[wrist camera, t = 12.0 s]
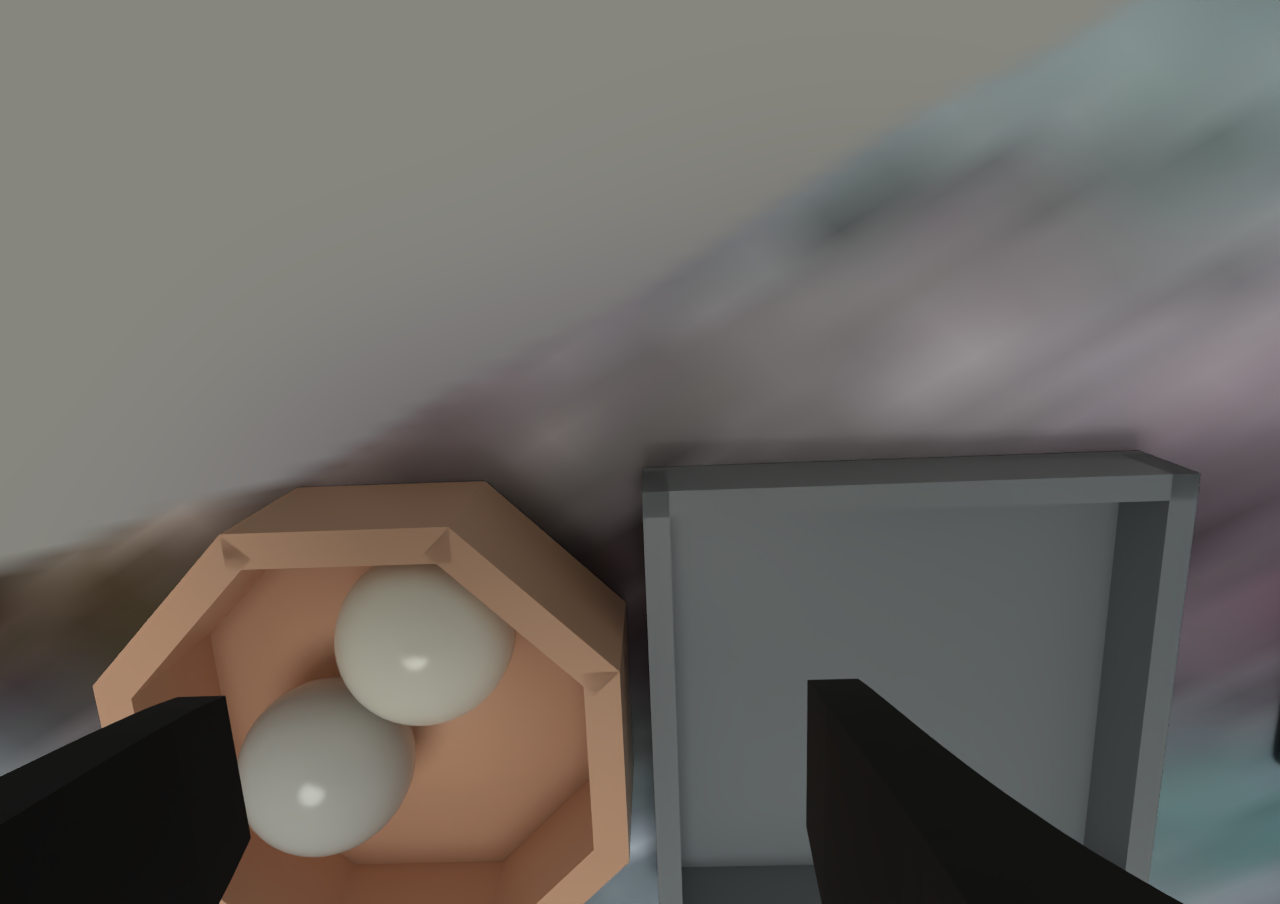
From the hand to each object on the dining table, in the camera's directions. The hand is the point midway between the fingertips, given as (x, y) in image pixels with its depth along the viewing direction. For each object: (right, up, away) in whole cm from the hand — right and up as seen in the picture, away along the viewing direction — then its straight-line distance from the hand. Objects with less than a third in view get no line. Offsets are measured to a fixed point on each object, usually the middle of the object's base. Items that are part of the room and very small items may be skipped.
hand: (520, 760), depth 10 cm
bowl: (-5, -3, +11) cm, 13 cm away
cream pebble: (-4, -1, +10) cm, 11 cm away
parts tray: (+8, -2, +11) cm, 14 cm away
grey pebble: (-5, -3, +11) cm, 12 cm away
